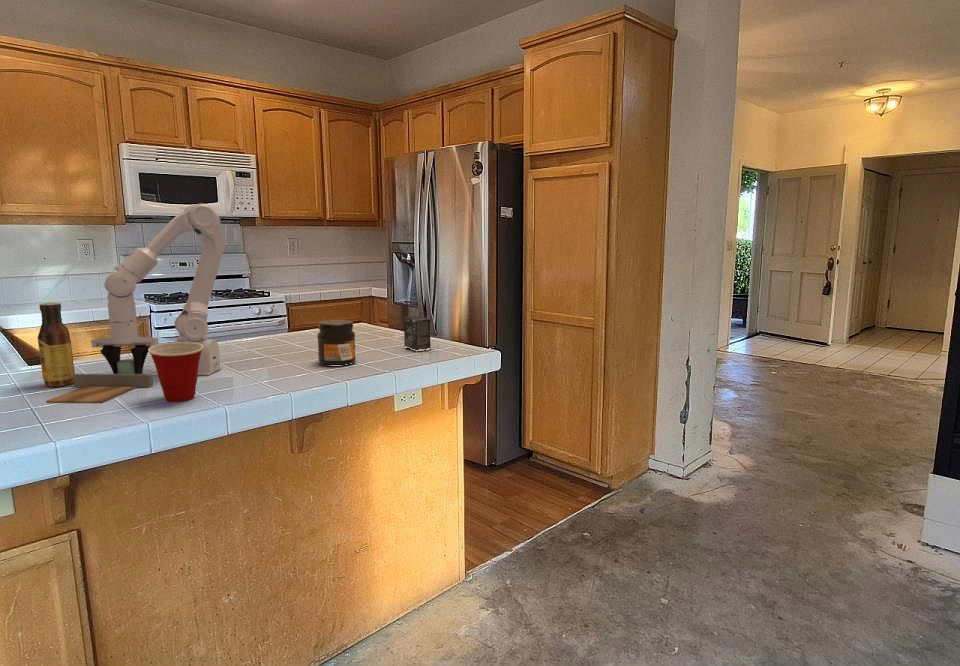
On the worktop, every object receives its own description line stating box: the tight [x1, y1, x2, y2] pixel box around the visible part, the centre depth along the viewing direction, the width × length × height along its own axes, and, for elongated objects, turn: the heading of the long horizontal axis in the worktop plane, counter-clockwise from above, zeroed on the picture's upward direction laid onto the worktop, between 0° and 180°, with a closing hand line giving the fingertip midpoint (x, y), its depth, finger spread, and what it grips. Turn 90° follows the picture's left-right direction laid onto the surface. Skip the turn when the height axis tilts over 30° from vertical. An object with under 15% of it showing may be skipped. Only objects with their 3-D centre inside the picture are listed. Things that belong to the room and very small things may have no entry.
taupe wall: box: [73, 373, 154, 388], centre depth 134 cm, size 18×1×3 cm, turn 91°
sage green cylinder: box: [117, 358, 135, 374], centre depth 140 cm, size 4×4×5 cm
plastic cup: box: [148, 341, 204, 403], centre depth 124 cm, size 11×11×12 cm
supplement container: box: [316, 319, 357, 366], centre depth 161 cm, size 10×10×12 cm
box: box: [403, 315, 431, 350], centre depth 182 cm, size 8×6×11 cm
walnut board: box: [45, 386, 136, 404], centre depth 127 cm, size 12×12×1 cm
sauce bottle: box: [37, 302, 76, 388], centre depth 134 cm, size 6×6×20 cm
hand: (128, 374), depth 140 cm, fingers closed on sage green cylinder, 4 cm apart
